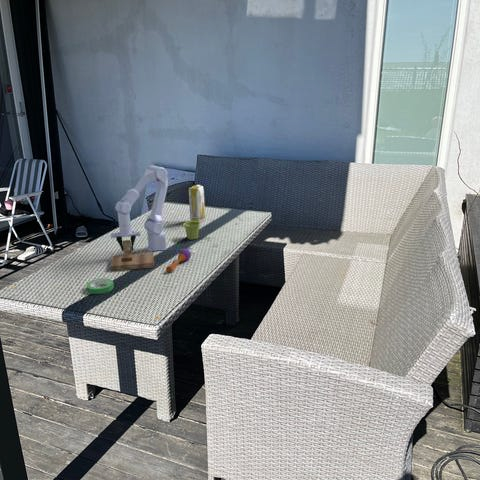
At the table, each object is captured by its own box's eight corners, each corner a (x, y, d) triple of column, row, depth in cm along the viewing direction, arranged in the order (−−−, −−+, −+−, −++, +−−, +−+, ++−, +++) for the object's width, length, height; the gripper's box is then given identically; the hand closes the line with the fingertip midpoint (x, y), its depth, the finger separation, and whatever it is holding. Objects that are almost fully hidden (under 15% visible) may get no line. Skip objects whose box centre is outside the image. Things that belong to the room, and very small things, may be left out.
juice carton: (201, 224, 285) (199, 186, 278) (189, 223, 288) (187, 186, 280) (206, 220, 294) (204, 183, 286) (194, 219, 296) (192, 183, 288)
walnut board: (153, 257, 233) (153, 252, 232) (153, 267, 220) (153, 262, 219) (113, 260, 230) (112, 255, 229) (111, 271, 217) (110, 266, 216)
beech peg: (132, 254, 238) (130, 239, 235) (132, 257, 234) (130, 242, 231) (124, 254, 237) (122, 240, 234) (123, 257, 233) (122, 242, 231)
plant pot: (181, 239, 259) (180, 225, 256) (189, 234, 267) (188, 220, 264) (196, 241, 255) (195, 226, 252) (203, 236, 263) (202, 222, 261)
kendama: (162, 264, 214) (180, 247, 231) (165, 275, 216) (183, 257, 233) (173, 263, 211) (191, 246, 229) (176, 275, 213) (194, 257, 231)
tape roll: (88, 296, 192) (88, 290, 191) (85, 286, 201) (85, 280, 200) (115, 291, 196) (115, 285, 195) (111, 282, 205) (111, 276, 205)
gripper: (139, 221, 235) (142, 246, 239) (110, 223, 233) (113, 248, 237) (139, 225, 228) (141, 250, 233) (109, 227, 226) (112, 253, 230)
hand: (127, 250), depth 234 cm, fingers open, 4 cm apart
